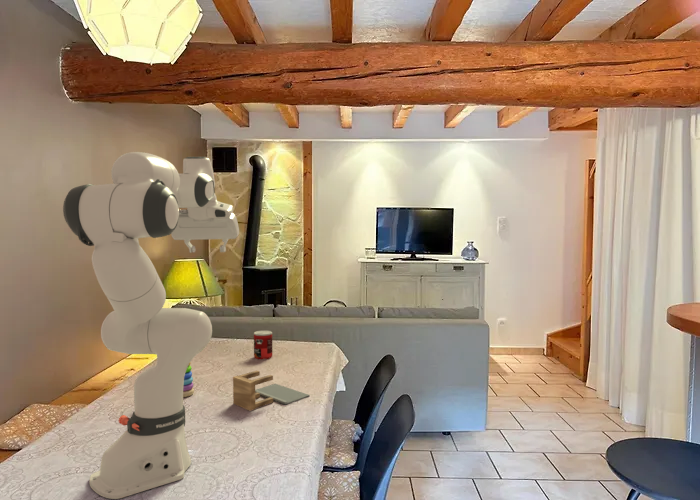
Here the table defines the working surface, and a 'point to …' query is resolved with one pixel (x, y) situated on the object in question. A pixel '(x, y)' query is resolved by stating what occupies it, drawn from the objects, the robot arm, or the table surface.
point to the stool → (249, 390)
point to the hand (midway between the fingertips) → (207, 251)
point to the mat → (281, 394)
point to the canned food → (263, 344)
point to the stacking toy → (188, 382)
